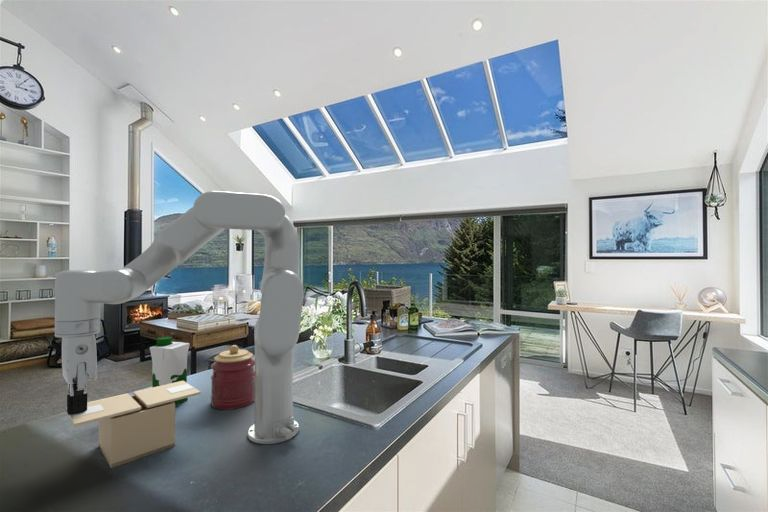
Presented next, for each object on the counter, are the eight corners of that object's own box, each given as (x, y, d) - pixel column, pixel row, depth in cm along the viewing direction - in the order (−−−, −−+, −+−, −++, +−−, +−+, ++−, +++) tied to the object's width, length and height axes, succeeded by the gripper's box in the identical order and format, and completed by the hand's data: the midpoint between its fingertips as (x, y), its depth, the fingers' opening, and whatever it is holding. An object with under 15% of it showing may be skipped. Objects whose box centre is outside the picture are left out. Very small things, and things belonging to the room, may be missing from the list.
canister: (238, 412, 106) (238, 352, 106) (200, 407, 110) (201, 348, 110) (263, 396, 119) (264, 342, 119) (229, 392, 122) (230, 339, 122)
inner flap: (200, 394, 92) (200, 391, 92) (147, 407, 83) (147, 404, 83) (183, 382, 100) (183, 380, 100) (133, 394, 92) (133, 391, 92)
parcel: (174, 446, 87) (175, 403, 87) (111, 468, 78) (111, 420, 78) (157, 428, 96) (157, 389, 96) (98, 446, 87) (98, 403, 87)
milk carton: (168, 396, 118) (168, 334, 118) (192, 398, 116) (193, 336, 116) (145, 407, 109) (146, 340, 109) (171, 410, 107) (172, 342, 107)
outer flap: (141, 409, 83) (141, 406, 83) (74, 426, 74) (74, 423, 74) (127, 395, 91) (127, 392, 91) (66, 409, 82) (66, 406, 82)
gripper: (107, 329, 77) (106, 417, 77) (93, 320, 87) (92, 398, 87) (59, 335, 71) (58, 429, 71) (50, 324, 81) (49, 407, 81)
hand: (77, 411), depth 79 cm, fingers closed
